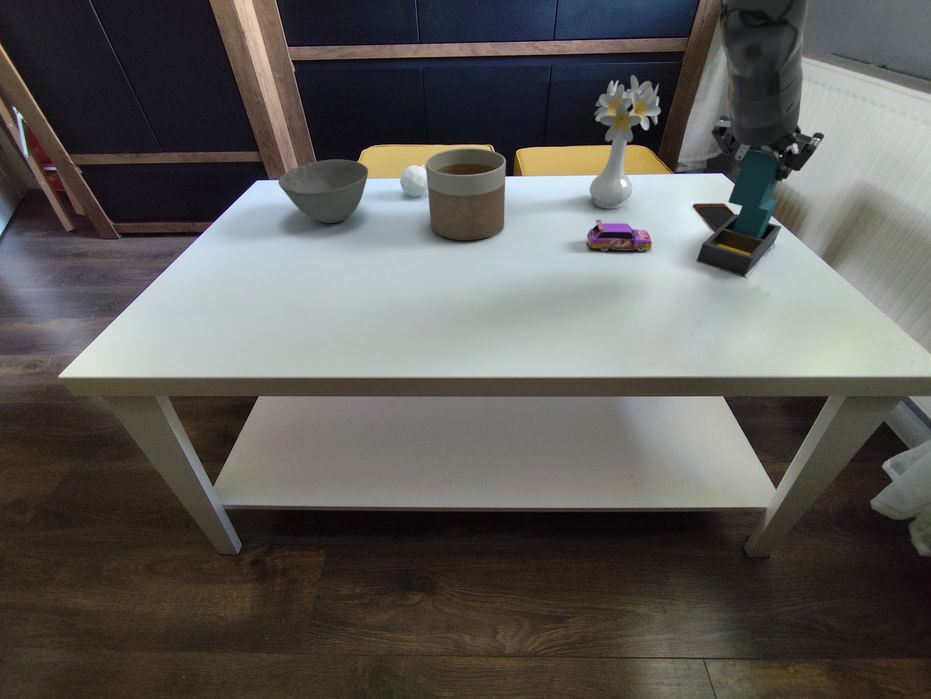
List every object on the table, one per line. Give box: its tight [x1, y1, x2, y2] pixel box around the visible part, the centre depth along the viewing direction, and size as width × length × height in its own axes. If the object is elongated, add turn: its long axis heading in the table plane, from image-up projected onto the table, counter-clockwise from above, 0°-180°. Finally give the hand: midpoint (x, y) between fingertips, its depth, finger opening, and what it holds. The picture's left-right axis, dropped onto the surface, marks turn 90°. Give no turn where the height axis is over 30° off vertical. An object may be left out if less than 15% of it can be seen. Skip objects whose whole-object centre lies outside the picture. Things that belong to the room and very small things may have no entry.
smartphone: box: [692, 202, 735, 233], centre depth 97 cm, size 7×1×15 cm
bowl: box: [278, 158, 369, 224], centre depth 100 cm, size 19×19×10 cm
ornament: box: [399, 164, 428, 198], centre depth 109 cm, size 7×7×8 cm
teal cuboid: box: [733, 198, 779, 239], centre depth 86 cm, size 4×6×8 cm
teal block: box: [728, 149, 779, 210], centre depth 69 cm, size 4×6×8 cm
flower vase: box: [588, 74, 662, 210], centre depth 96 cm, size 13×18×25 cm
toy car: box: [586, 219, 653, 252], centre depth 88 cm, size 6×12×5 cm, turn 86°
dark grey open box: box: [696, 213, 782, 277], centre depth 86 cm, size 9×16×4 cm, turn 137°
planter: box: [425, 147, 507, 241], centre depth 94 cm, size 16×16×14 cm
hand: (764, 171), depth 70 cm, fingers closed on teal block, 4 cm apart
